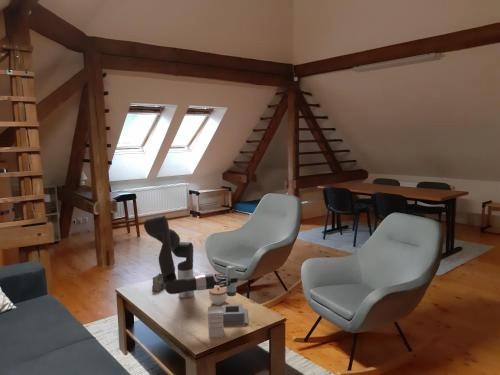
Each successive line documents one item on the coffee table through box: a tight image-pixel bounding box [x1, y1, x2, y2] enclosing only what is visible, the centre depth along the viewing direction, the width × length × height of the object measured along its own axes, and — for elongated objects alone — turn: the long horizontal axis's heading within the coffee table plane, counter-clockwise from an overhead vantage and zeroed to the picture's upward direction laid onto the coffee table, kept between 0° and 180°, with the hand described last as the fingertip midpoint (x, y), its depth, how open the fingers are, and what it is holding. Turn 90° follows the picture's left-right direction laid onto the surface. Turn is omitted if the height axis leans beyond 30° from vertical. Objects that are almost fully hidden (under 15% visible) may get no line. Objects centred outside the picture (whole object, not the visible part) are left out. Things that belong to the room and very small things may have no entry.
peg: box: [225, 264, 237, 297], centre depth 208 cm, size 5×5×15 cm
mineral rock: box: [151, 272, 164, 292], centre depth 254 cm, size 13×11×10 cm
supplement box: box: [207, 305, 225, 339], centre depth 194 cm, size 7×7×13 cm
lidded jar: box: [208, 286, 228, 306], centre depth 230 cm, size 11×11×9 cm
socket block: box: [221, 304, 249, 327], centre depth 211 cm, size 16×16×5 cm
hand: (235, 278), depth 209 cm, fingers closed on peg, 5 cm apart
